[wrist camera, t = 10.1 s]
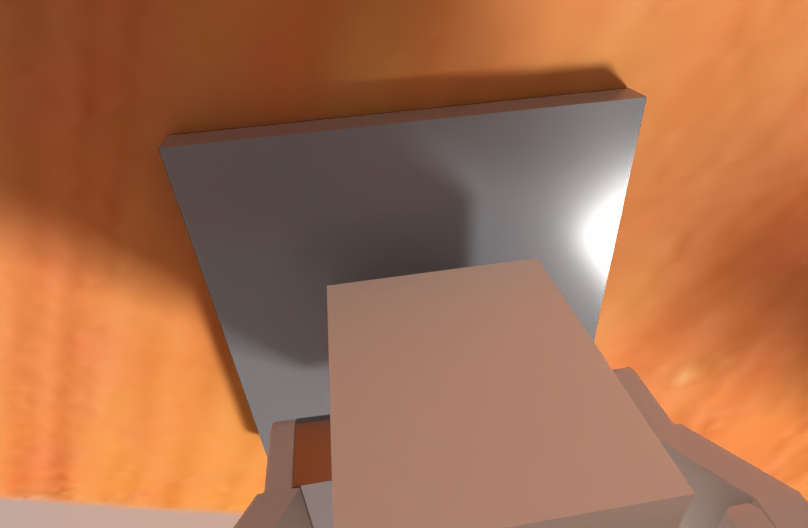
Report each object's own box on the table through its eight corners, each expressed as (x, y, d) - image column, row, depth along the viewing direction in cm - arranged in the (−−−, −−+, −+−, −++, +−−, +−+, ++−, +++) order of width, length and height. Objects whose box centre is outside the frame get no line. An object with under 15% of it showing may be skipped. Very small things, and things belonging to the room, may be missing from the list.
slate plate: (167, 135, 11) (158, 148, 11) (629, 87, 12) (646, 96, 12) (269, 438, 17) (267, 458, 17) (569, 391, 18) (578, 408, 18)
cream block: (326, 285, 11) (333, 557, 6) (537, 257, 12) (695, 493, 7) (352, 424, 14) (370, 687, 9) (521, 398, 15) (624, 636, 10)
